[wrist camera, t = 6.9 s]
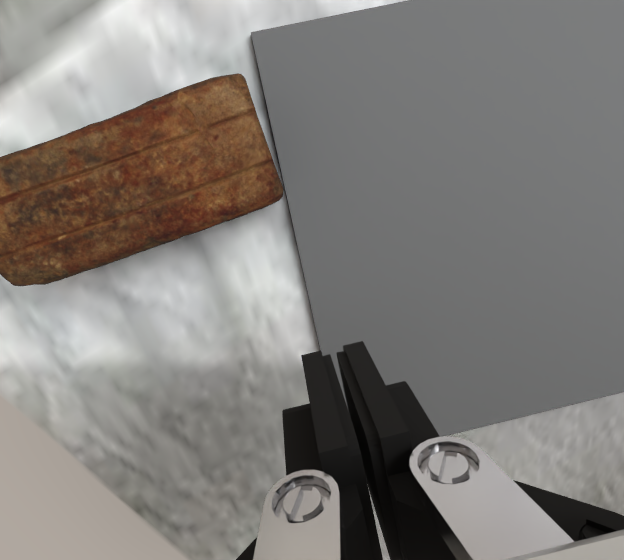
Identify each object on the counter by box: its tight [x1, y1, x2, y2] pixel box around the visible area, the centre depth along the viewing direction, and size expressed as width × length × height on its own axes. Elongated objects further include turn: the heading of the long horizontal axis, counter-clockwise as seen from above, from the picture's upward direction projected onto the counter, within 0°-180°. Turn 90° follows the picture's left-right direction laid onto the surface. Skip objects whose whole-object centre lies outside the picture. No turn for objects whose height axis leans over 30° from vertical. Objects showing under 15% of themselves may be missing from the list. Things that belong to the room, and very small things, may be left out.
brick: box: [0, 74, 283, 286], centre depth 17 cm, size 11×4×5 cm
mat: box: [251, 0, 624, 437], centre depth 21 cm, size 18×21×1 cm
